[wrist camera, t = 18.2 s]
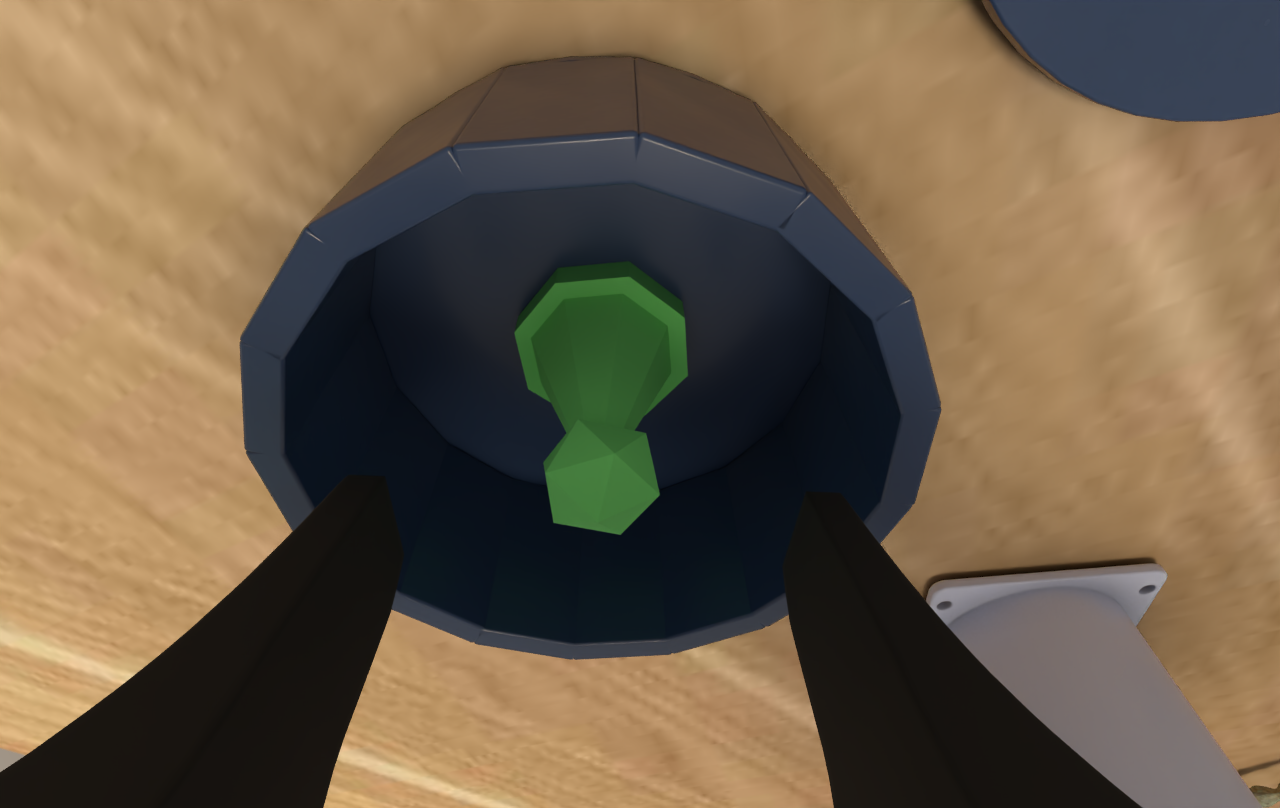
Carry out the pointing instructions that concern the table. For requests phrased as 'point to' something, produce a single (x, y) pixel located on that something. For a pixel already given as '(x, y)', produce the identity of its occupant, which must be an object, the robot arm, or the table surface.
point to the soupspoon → (1266, 795)
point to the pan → (528, 424)
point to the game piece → (602, 385)
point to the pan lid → (1154, 53)
